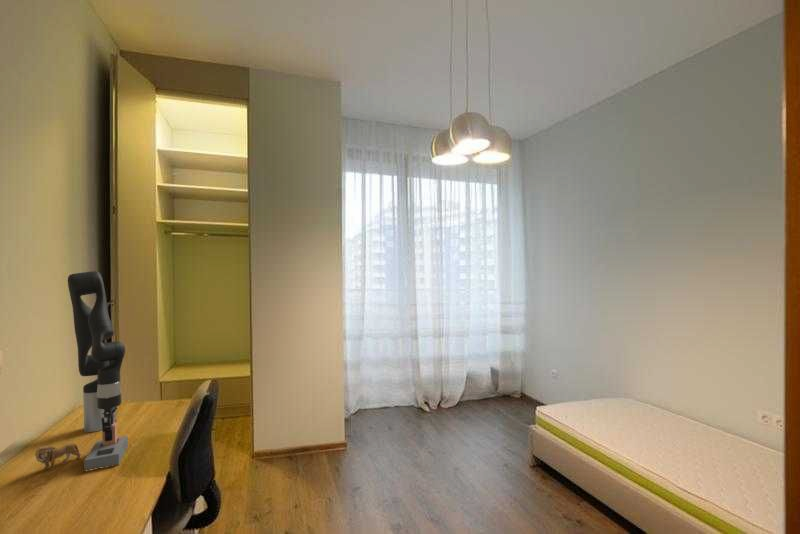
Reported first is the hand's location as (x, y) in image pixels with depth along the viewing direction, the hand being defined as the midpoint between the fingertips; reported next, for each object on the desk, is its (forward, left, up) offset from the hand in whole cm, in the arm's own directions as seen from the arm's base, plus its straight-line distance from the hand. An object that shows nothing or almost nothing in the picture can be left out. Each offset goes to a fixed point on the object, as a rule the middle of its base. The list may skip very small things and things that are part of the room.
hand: (109, 438), depth 154 cm
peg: (0, 0, -5) cm, 5 cm away
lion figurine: (+3, -15, -6) cm, 16 cm away
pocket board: (+5, 0, -6) cm, 7 cm away
